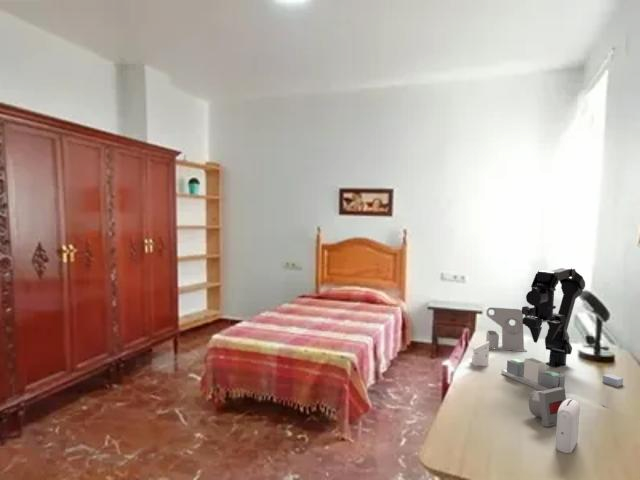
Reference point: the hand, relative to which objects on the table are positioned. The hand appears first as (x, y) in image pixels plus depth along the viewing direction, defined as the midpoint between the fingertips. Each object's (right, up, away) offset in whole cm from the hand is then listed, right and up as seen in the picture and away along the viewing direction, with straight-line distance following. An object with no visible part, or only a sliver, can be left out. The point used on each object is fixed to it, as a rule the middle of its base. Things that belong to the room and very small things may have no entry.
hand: (543, 341), depth 178 cm
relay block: (+18, -12, -13) cm, 26 cm away
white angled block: (-22, -12, +9) cm, 27 cm away
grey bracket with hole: (-1, -11, +34) cm, 36 cm away
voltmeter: (-15, -15, -35) cm, 41 cm away
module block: (-9, -12, -11) cm, 18 cm away
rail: (-9, -13, -10) cm, 19 cm away
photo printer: (-22, -16, -56) cm, 62 cm away
